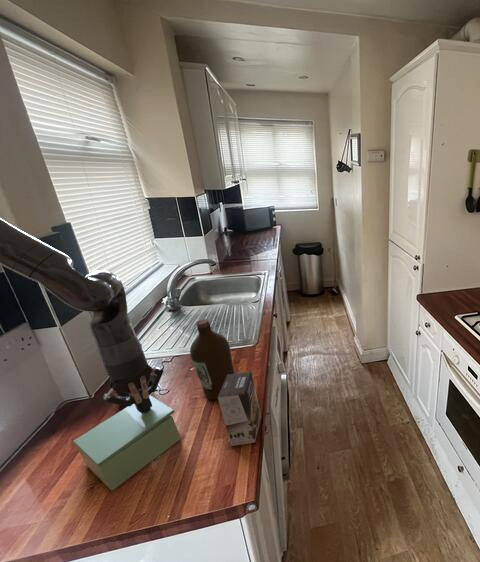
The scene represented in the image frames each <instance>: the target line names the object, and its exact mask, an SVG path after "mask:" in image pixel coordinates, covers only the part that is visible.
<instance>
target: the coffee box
mask: <svg viewBox="0 0 480 562" xmlns="http://www.w3.org/2000/svg"><path fill="white" fill-rule="evenodd" d="M234 373H235V372H234ZM217 400H218V403H219V407H220V411H221V415H222V418H223V422H224V426H225V429H226V434H227V436H228V440H229V443H230V446H231V447H235V446H242V445H247V444H254V443H255V444H256V442H257V437H258V433H259V428H260V424H261V420H262V413H261V408H260V404H259V403H260V402H259V400H258V395H257V391H256V385H255V382H254V378H253V373H252V371H251V370H248V371H241V372H236V373H235V374H228V375H227V377H226V379H225V381H224V384H223V386H222V388H221V391H220V393H219V395H218V399H217Z"/></svg>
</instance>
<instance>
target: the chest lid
mask: <svg viewBox="0 0 480 562" xmlns="http://www.w3.org/2000/svg"><path fill="white" fill-rule="evenodd" d="M149 398H150V401H151V403H152V407H150V408H151V410H149V411H148V412H146V413H143V412H142V413H141V412H139V411H138V410H137V409H136V406H135V404H132V406H125V408H123V409H122V410H120V411H118V412H117V413H115V414H113V415H112V416H110V417H109V418H107V419H106V420H104V421H103V422H101V423H99V424H98V425H96V426H95V427H92V428H91V429H90V430H88V431H87V432H85V433H84V434H82V435H81V436H79V437H77V438H76V439H74V440H73V441H72V442H73V443H74V445H75V444H76V445H77V446H78V447H79V448H80V449H81V450H82V451H83V452H84V453H85V454H86V455H87V456H88V457H89V458H90V459H91V460H92V461H93V462H94V463H96V464H97V465H98V466H99V467H100V466H101V465H102V464H104V463H105V462H106V461H108V460H109V459H111V458H112V457H113V456H115V455H116V454H117V453H119V452H120V451H122V450H123V449H124V448H126V447H127V446H128V445H130V444H131V443H133V442H134V441H135V440H137V439H138V438H140V437H141V436H142V435H144V434H145V433H146V432H148V431H149V430H151V429H152V428H153V427H155V426H156V425H157V424H159V423H160V422H162V421H163V420H164V419H166V418H167V417H168V416H170V415H171V416H172V415H173V414H174V413H175V412H176V411H175V410H174V409H173V408H171V407H170V406H169V405H167V404H165V403H164V402H162V401H161V400H159V399H158V398H156V397H154V396H153V395H151V394H150V395H149ZM76 445H75V446H76Z"/></svg>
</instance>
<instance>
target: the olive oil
mask: <svg viewBox="0 0 480 562" xmlns="http://www.w3.org/2000/svg"><path fill="white" fill-rule="evenodd" d="M195 324H196V329H197V332H198V334H197V336H196V337H195V338H194V340H193V342H192V344H191V345H190V349H189V355H190V359H191V361H192V365H193V367H194V369H195V372H196V374H197V377H198V380H199V382H200V385H201V387H202V391H203V393H204V397H205V398H206V399H208V400H215V401H216V400H218V395H219V393H220V391H221V388H222V386H223V384H224V381H225V379H226V377H227V375H228V374H235V368H234V363H233V357H232V352H231V346H230V343H229V341H228V339H227V338H226V337H225V336H224V335H223V334H221V333H219V332H216V331H214V330H212V326H211V323H210V320H209V319H208V318H203V319H199V320H198V321H196V323H195Z"/></svg>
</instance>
